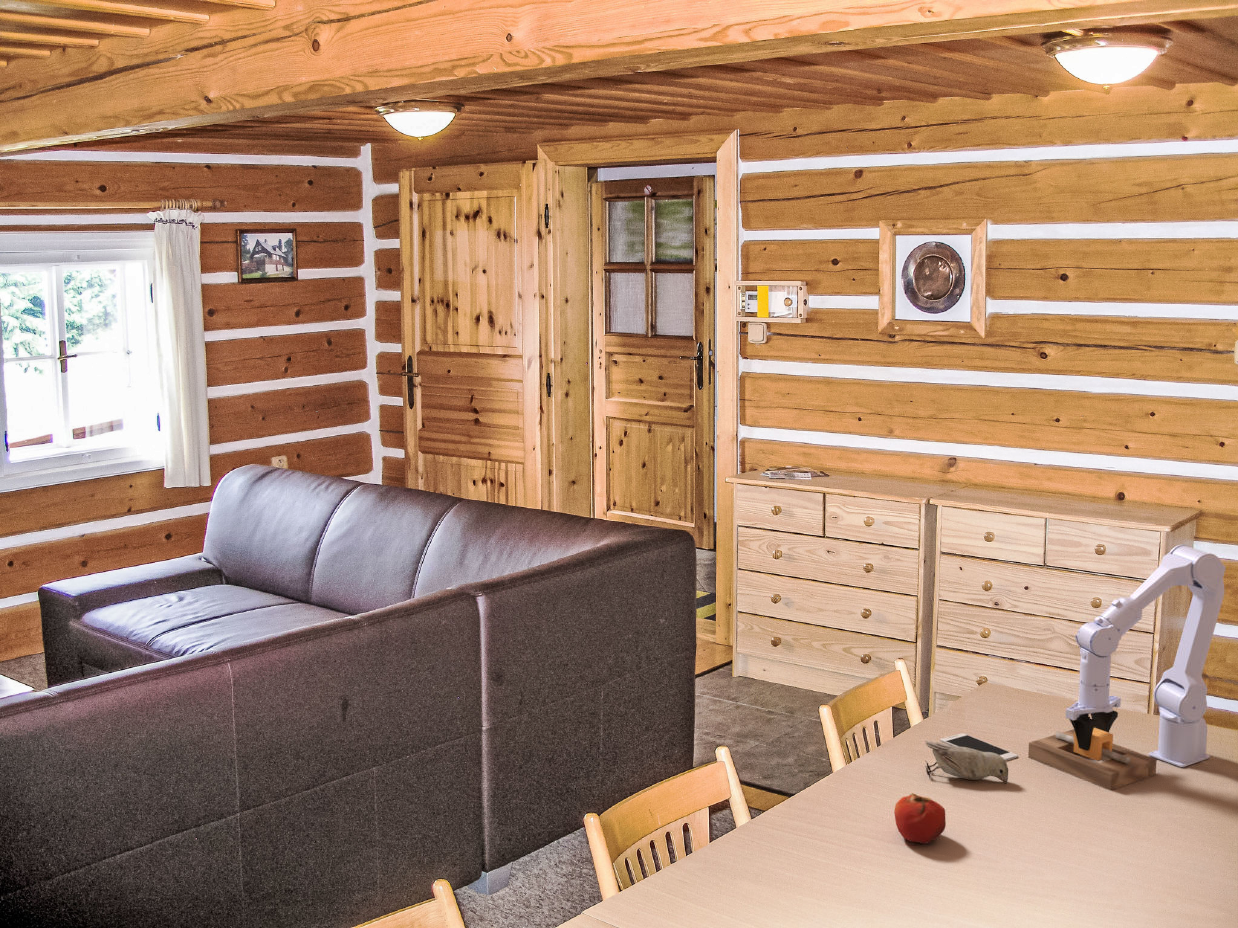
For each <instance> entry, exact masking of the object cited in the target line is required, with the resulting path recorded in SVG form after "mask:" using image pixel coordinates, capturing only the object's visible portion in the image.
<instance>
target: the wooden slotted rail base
mask: <svg viewBox="0 0 1238 928" xmlns="http://www.w3.org/2000/svg"><path fill="white" fill-rule="evenodd" d="M1074 732H1075V730H1074V728H1073V729H1070V730H1066V731H1064V732H1060V731H1056V733H1055V734H1054V735H1050V736H1047V737H1043V738H1039V739H1037V740H1033V741H1031V742H1028V758H1029V759H1032V760H1034V761H1036V762H1038V763H1041V764H1044V765H1047V766H1049V767H1052V768H1053V769H1056V770H1059V771H1061V772H1064V773H1066V774H1069V775H1071V776H1074V777H1075V778H1076V777H1077V778H1079V779H1082V780H1083V781H1086V782H1089V783H1091V784H1094V785H1096V786H1099V787H1101V788H1104V789H1107V790H1108V791H1112V790H1115V789H1118V788H1121V787H1124V786H1127V785H1129V784H1132V783H1135V782H1138V781H1141V780H1144V779H1146V778H1149V777H1153V776H1155V775H1157V774H1156V773H1157V762H1158V761H1157V760H1158V759H1157V758H1154V757H1152V756H1149V755H1146V754H1144V753H1140V752H1138V751H1135V750H1133V749H1131V748H1127V747H1124V746H1121V745H1119V744H1116V743H1113V745H1112V751H1110V750H1107V749H1104V748H1102V755H1101V761H1102V762H1101V761H1100V762H1095V761H1092V760H1090V759H1087V758H1084V757H1082V755H1081V754H1078V753H1076V752H1074ZM1105 756H1106V757H1105Z"/></svg>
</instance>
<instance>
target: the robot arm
mask: <svg viewBox="0 0 1238 928" xmlns="http://www.w3.org/2000/svg"><path fill="white" fill-rule="evenodd" d="M1226 568H1227V567H1226V566H1225V565H1224V563H1223V562H1222V560H1221V559H1220V557H1218V556H1217V554H1216V555H1215V554H1214V553H1208V552H1206V551H1202V550H1199V549H1197V548H1194V547H1191V546H1190V545H1186V544H1177V545H1175V546H1174V547H1172V549H1171V550H1170V551H1169V552H1168V553H1167V554H1165V555H1163V557H1162V560H1161V562H1160V565H1159V566H1158V567H1157V568H1156V569H1155V570H1154V571H1153V572H1152V573H1151V575H1149V577H1147V579H1145V580H1144V581H1143V583H1141V585H1139V586H1138V588H1137V589H1136V590H1135V591H1134V592H1132V593H1131V595H1130V596H1128V597H1119V598H1118V599H1116V598H1114V599H1113V600H1112V602H1110V604H1111V605H1110V606H1109V607H1108V608H1107V609H1106V610H1104V611H1103V612H1102V613H1101V614H1100V615H1099V616H1096V617H1095V618H1094V620H1093V621H1089V622H1086V623H1084V624H1083V625H1082V626H1081V627H1080V628H1079V629H1078V631H1077V634H1075V635H1074V636H1075V637H1074V639H1075V642H1076V644H1077V645H1078V647H1079V654H1080V663H1079V664H1080V665H1079V683H1078V687H1079V688H1078V700H1077V701H1075V703H1073V704H1071V706H1069V707H1067V708H1065V718H1066V719H1068V720H1069V721H1070V723H1071V725H1072V727H1073V729H1074V730H1075V733H1076V737H1077V742H1078V746H1079V748H1081V749H1083V750H1086V751H1088V750H1089V749H1090V745H1091V737H1092V732H1093V729H1094V728H1097V729H1100V730H1103V731H1105V732H1108V733H1110V730H1111V728H1112V726H1113V724H1114V722H1115V721H1116V719H1118V717H1119V712H1118V711H1116V710H1114V708H1116V709H1117V708H1120V707H1121V703H1122V701H1121V699H1122V698H1121V697H1118V696H1116V695H1110V685H1111V684H1110V683H1111V665H1112V664H1111V661H1112V654H1113V653H1115V652H1116V651H1117V649H1118V646H1119V644H1120V641H1121V640H1122V637H1123V636H1125V634H1126V633H1127V632H1129V631H1130V629H1132V628H1133V627H1134V626H1135V625H1136V624H1138V623H1139V622H1140V621H1141V620H1142V618H1143V609H1145V608H1146V607H1147V606H1149V605H1150V604H1152V603H1153V602H1154V601H1155V600H1156V599H1158V598H1159V597H1161V596H1162V595H1164V593H1166V592H1167V591H1168V590H1170V589H1171V588H1173V587H1174V586H1187V587H1188V589H1189V590H1190V592H1191V593H1192V598H1191V601H1190V605H1189V608H1188V611H1187V615H1186V618H1185V619H1186V620H1185V622H1184V626H1183V628H1182V629H1183V630H1182V633H1181V636H1180V641H1179V644H1178V647H1177V650H1176V651H1177V652H1176V655H1175V659H1174V662H1173V665H1172V667H1170V668H1169V669H1167V670H1165V671H1164V672H1163V673H1162V676H1161V678H1160V681H1159V682H1158V683H1157V684H1156V685H1155V688H1154V690H1153V695H1152V696H1153V700H1154V702H1155V704H1156V705H1157V706H1158V712H1159V722H1158V723H1159V726H1158V728H1159V729H1158V744H1157V747H1158V748H1157V749H1155V750H1154V751H1150V752H1149V753H1148V756H1149V757H1152V758H1155V759H1157V760H1161V761H1164V762H1166V763H1169V764H1171V765H1174V766H1177V767H1180V768H1185V767H1187V766H1190V765H1194V764H1196V763H1199V762H1202V761H1204V760H1208V759H1210V758H1211V755H1209V754H1207V740H1208V725H1207V722H1206V720H1205V718H1204V717H1203V716H1204V715H1205V714H1206V711H1207V709H1208V703H1207V694H1208V687H1207V685H1206V682H1205V680H1204V678H1203V671H1204V667H1205V665H1206V660H1207V657H1208V654H1209V649H1210V647H1211V643H1212V639H1213V636H1214V633H1215V628H1216V626H1217V622H1218V619H1219V614H1220V611H1221V607H1222V603H1223V601H1224V597H1225V593H1226V592H1225V591H1226V590H1225V585H1224V584H1225V582H1224V576H1225V573H1226V572H1225V571H1226Z"/></svg>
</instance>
